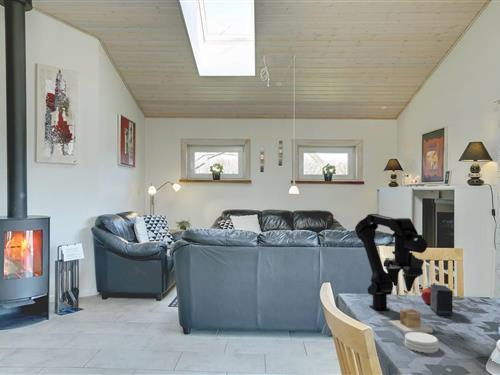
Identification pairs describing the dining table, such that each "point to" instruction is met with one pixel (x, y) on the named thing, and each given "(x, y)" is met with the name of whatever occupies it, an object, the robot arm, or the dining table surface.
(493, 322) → the dining table surface
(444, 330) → the dining table surface
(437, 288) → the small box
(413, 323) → the oak cube
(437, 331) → the dining table surface
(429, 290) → the pomegranate
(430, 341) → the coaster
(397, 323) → the white board
